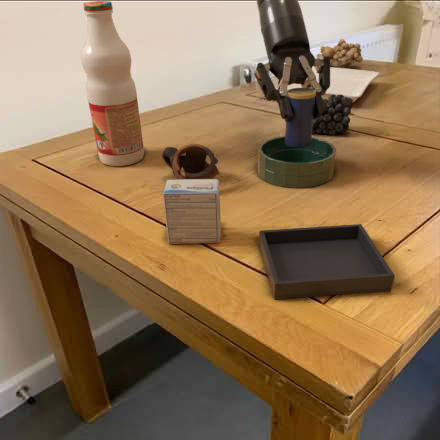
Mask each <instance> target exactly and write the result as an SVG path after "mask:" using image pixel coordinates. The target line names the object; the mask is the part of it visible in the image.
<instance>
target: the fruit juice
mask: <svg viewBox="0 0 440 440" xmlns="http://www.w3.org/2000/svg"><path fill="white" fill-rule="evenodd" d="M113 8H114V7H113V4H112V2H111V0H93V1H86V2H83V11H84V14H85V16H86V18H87V32H86V38H85V39H86V40H85V42H84V44H83V46H82V49H81V52H80V61H81V66H82V68H83V71H84V72H85V74H86V84H85V90H86V97H87V98H86V99H87V103H88V108H89V113H90V116H91V118H90V119H91V123H92V128H93V129H92V130H93V133H94V139H95V145H96V149H97V155H98V158H99V160H100V162H101V163H102V164H103V165H106V166H111V167H126V166H130V165H134V164H137V163H139V162H140V161H142V160H143V159H144V155H145V148H144V141H143V140H144V139H143V133H142V132H143V131H142V126H141V117H140V109H139V102H138V93H137V87H136V83H135V80H134V79H133V76H132V74H131V73H132V71H131V70H132V54H131V51H130V49H129V47H128V45H127V44H126V43H125V42H124V40H122V38H121V37H120V35H119V32H118V31H117V28H116V26H115V23H114V19H113V13H114V12H113Z"/></svg>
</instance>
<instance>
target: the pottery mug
mask: <svg viewBox="0 0 440 440" xmlns="http://www.w3.org/2000/svg"><path fill="white" fill-rule="evenodd" d="M207 156H208V157H209V161H210V162H208V161H206V160H207ZM161 157H162V160H163V161H164V163H165V164H166V165H167V166H168V167H169V168H170V169H171V170H172V174H173V176H174V177H175V178H176V180H184V179H215V176H218V175H219V176H220V173H221V172H220V171H219V169H218V167H217V164H218V163H219V159H218V158H217V157H216V156H215V154H214V152H213V151H212V150H211V149H210V148H209V147H207V146H205V145H203V144H199V143H190V144H186V145H183V146H182V147H180V148H179V149H177V148H175V147H172V146H166V147H165V148H164V150H163V151H162V153H161ZM182 169H183V173H184V175H183V174H182V172H181V171H182ZM194 172H195V173H194Z"/></svg>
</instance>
